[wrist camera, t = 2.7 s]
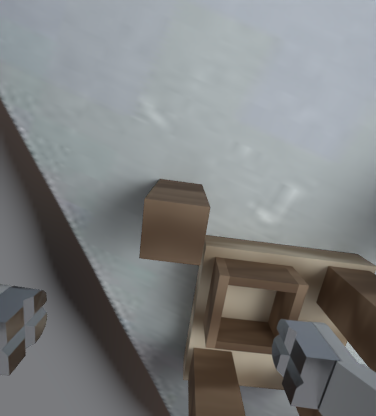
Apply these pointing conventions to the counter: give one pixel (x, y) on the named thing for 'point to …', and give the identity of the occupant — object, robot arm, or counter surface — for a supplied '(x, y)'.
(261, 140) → the counter surface
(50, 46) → the counter surface
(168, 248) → the stool leg
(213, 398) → the stool seat
